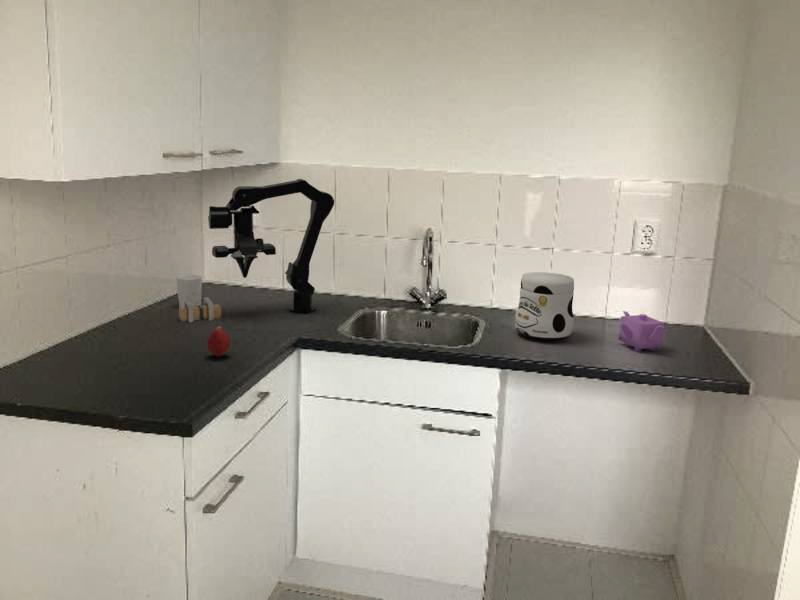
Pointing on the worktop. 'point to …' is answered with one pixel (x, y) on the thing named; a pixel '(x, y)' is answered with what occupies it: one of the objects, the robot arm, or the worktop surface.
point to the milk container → (545, 306)
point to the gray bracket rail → (190, 306)
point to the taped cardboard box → (200, 312)
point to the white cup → (189, 288)
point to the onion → (218, 342)
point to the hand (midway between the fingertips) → (244, 277)
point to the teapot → (641, 332)
